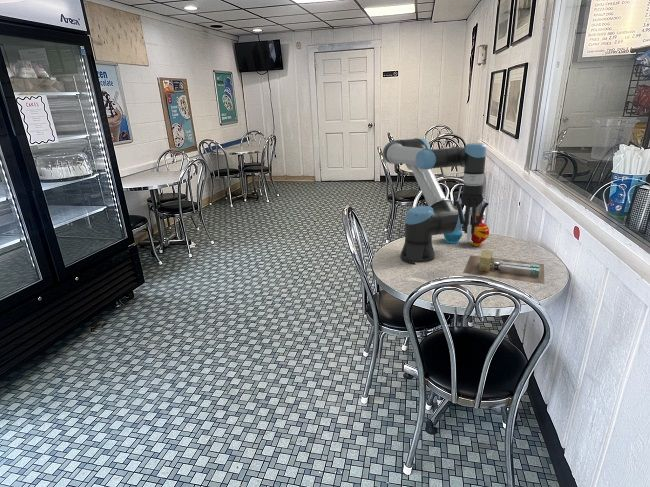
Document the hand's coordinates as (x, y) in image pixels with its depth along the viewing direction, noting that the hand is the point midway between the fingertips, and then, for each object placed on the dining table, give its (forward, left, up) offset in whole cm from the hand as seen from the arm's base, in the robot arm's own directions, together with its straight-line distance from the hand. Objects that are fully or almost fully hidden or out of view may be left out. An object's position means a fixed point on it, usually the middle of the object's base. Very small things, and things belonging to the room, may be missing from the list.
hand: (468, 240), depth 162 cm
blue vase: (-12, +33, -12) cm, 37 cm away
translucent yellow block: (+7, 0, -11) cm, 13 cm away
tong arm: (+18, +1, -11) cm, 21 cm away
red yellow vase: (0, +32, -12) cm, 35 cm away
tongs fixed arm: (+15, -1, -11) cm, 19 cm away
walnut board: (+14, +2, -12) cm, 19 cm away
